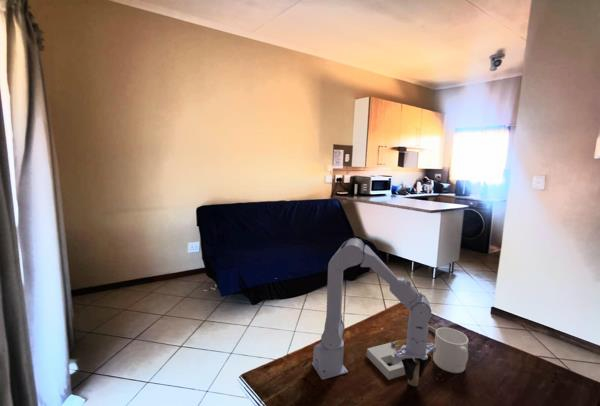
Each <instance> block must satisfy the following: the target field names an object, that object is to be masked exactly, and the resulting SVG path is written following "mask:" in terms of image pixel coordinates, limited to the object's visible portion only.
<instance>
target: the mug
mask: <svg viewBox="0 0 600 406" xmlns="http://www.w3.org/2000/svg"><path fill="white" fill-rule="evenodd" d="M436 329H437V330H436V332H435V333H434V343H433V344H434V345H435V346H436V352H432V353H433V355H432V361H433V363H434V364H435V365H436V366H437V367H438V368H440V369H441V370H443V371H445V372H447V373H452V374H461V373H463V372H464V371H465V370H466V366H467V363H468V360H469V351H468V347H469V338H468V336H467V335H466V334H465V333H464V332H462V331H459V330H457V329H455V328H451V327H439V328H436Z"/></svg>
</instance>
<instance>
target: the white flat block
mask: <svg viewBox="0 0 600 406" xmlns="http://www.w3.org/2000/svg"><path fill="white" fill-rule="evenodd" d="M400 340H401V339H399V340H398V341H400ZM396 341H397V340H395V341H392V342H387V343H385V344H384V343H383V344H380V345H377V346H372V347H368V348H366V358H368V359H369V361H370V362H371V363H372V364H373V365H374V366H375V367H376V368H377V369H378V370H379V371H380V372H381V373H382V374H383V375H384V376H385V378H386V379H387V380H389V381H390V380H392V379H395V378H399V377H403V376H406V375H405V370H404V366H403V363H402V360H401V362H397V361H396V360H395V359H394V353H395V352H398V351H399V350H400V349H402V348H403V347H404V346H405V345H406V344H405V343H404V344H400V345H395V342H396ZM413 359H414V358H413ZM388 364H391V365H388Z"/></svg>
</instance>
